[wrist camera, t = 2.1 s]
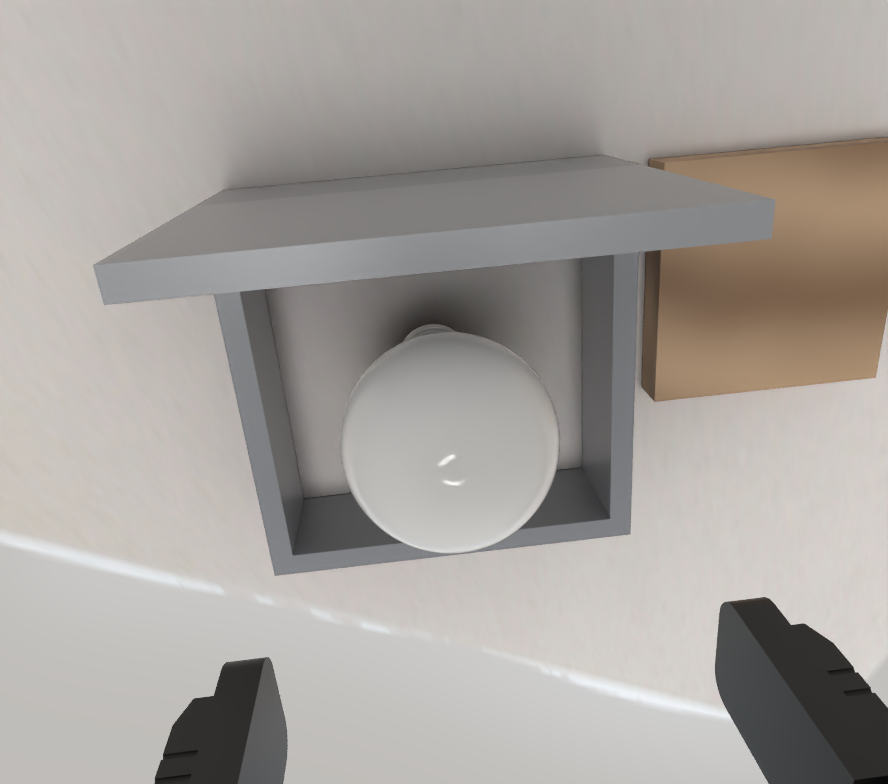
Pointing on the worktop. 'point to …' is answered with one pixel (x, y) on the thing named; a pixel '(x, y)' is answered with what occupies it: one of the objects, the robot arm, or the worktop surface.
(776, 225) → the stand
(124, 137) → the worktop surface
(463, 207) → the case
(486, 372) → the lightbulb
